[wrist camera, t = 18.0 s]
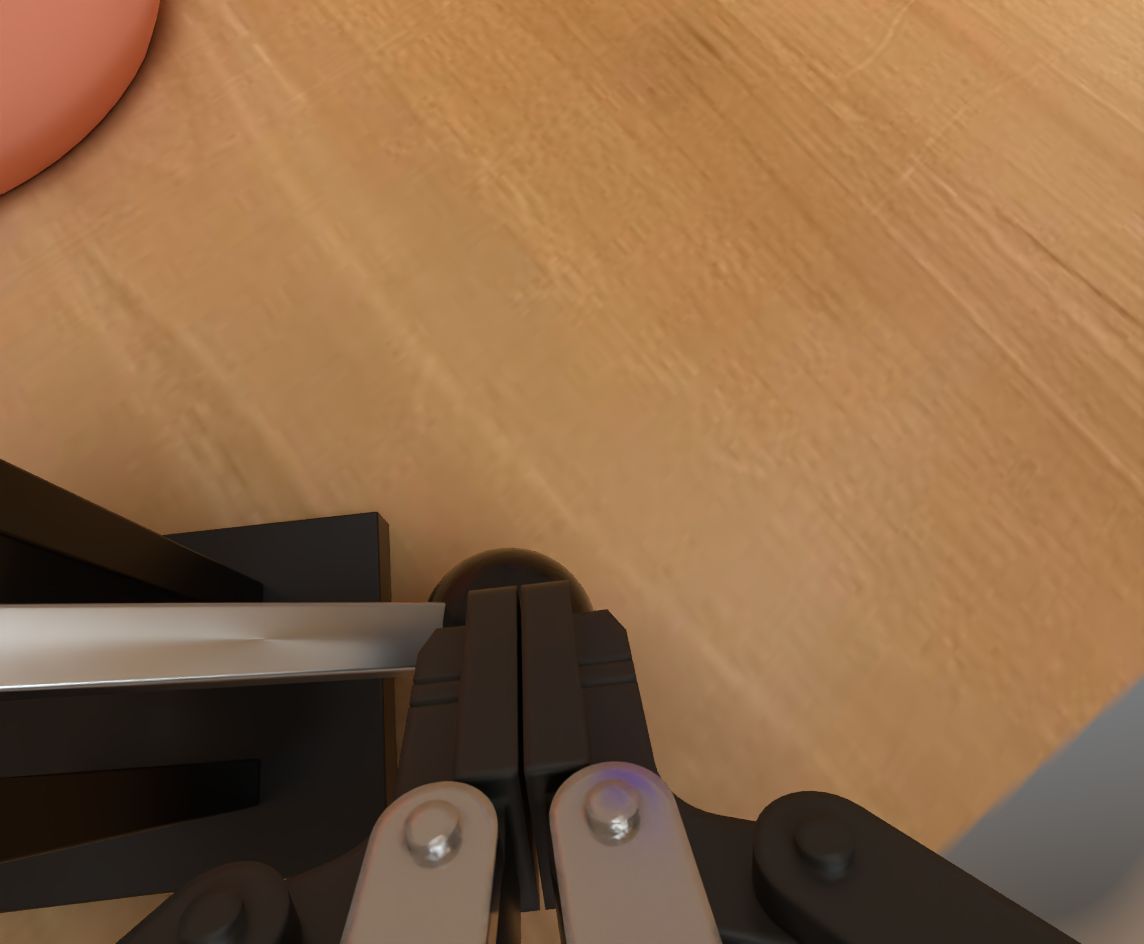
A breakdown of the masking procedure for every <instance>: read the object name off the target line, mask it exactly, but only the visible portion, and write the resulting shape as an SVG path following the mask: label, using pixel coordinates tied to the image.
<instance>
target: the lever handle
mask: <svg viewBox="0 0 1144 944" xmlns="http://www.w3.org/2000/svg"><path fill="white" fill-rule="evenodd" d="M563 580H569V589H570V597H571V606H572V613H581V612H590V611H594V610H593V607H592V604H591V602H590V599H589V597H588V595H587V594H586V592H585V590H584V589H583V587H582V586H581V584H580V583H579V582H578V580H577V579H576V578H575V577H574V576H573V574H571V573H570V572H569V571H568V570H567V569H566V568H565V567H564V566H562V565H561V564H560V563H558V562H557V561H555V560H553V559H551V558H550V557H547V556H545V555H543V554H540V553H538V552H535V551H531V550H526V549H519V548H500V549H494V550H488V551H485V552H482V553H479V554H476V555H474V556H472V557H470V558H468V559H466V560H464V561H463V562H461V563H460V564H458V565H457V566H456V567H454V568H453V569H452V570H450V571H449V572H448V573H447V574H446V575H445V576H444V577H443V578H442V580H441V581H440V582H439V584H438V585H437V586H436V588H435V589H434V590H433V592H432V594H431V595H430V597H429V599H428V601H427V602H333V603H12V604H0V701H2V700H19V699H36V698H53V697H70V696H87V695H104V694H121V693H138V692H155V691H172V690H189V689H206V688H223V687H240V686H256V685H273V684H290V683H307V682H324V681H341V680H358V679H375V678H392V677H409V676H414V673H415V667H416V662H417V656H418V653H419V651H420V650H421V648H422V647H423V646H424V644H425V643H426V642H427V640H428V639H429V638H430V636H431V635H432V634H433V632H434V631H435V629H437V628H446V627H455V626H464V625H465V623H466V612H467V601H468V593H469V591H472V590H481V589H490V588H499V587H508V586H518V590H519V596H520V603H521V585H528V584H536V583H545V582H554V581H563Z"/></svg>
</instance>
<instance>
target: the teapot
mask: <svg viewBox="0 0 1144 944" xmlns="http://www.w3.org/2000/svg"><path fill="white" fill-rule="evenodd" d="M159 3H160V0H0V195H2V194H4V193H6V192H7V191H9V190H11V189H13V188H14V187H16V186H18V185H20V184H22V183H23V182H25V181H27V180H29V179H30V178H32V177H33V176H35V175H36V174H38V173H39V172H41V171H42V170H44V169H45V168H47V167H48V166H50V165H51V164H53V163H54V162H55V161H57V160H58V159H59V158H61V157H62V156H63V155H64V154H66V153H67V152H68V151H69V150H70V149H72V148H73V147H74V146H75V145H76V144H78V143H79V142H80V141H81V140H82V139H83V138H84V137H85V136H86V135H87V134H88V133H89V132H90V131H91V130H92V129H93V128H94V127H95V126H96V125H97V124H98V123H99V122H100V121H101V120H102V119H103V118H104V117H105V116H106V114H107V113H108V112H109V111H110V110H111V108H112V107H113V106H114V105H115V104H116V102H117V101H118V100H119V99H120V97H121V96H122V94H123V93H124V92H125V90H126V89H127V87H128V86H129V84H130V83H131V81H132V80H133V79H134V77H135V75H136V73H137V71H138V69H139V67H140V66H141V64H142V62H143V60H144V58H145V56H146V52H147V49H148V46H149V43H150V40H151V37H152V33H153V29H154V26H155V23H156V19H157V15H158V9H159Z"/></svg>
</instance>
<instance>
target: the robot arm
mask: <svg viewBox="0 0 1144 944" xmlns="http://www.w3.org/2000/svg"><path fill="white" fill-rule="evenodd" d="M413 681H414V685H412V691H411V697H410V702H409V703H410V708H408V714H407V720H406V726H405V731H404V737H403V743H402V749H401V755H400V760H399V766H398V772H397V778H396V784H395V789H394V795H393V798H392V802H391V805H390V806H389V807H387V808H386V809H385V811H384V812H383V813H382V815H381V816H380V817H379V818H378V820H377V822H376V824H375V825H374V827H373V830H372V833H371V834H370V835H369V836H368V837H367V838H366V839H365V840H364V841H363V842H362V843H360V844H359V845H358V846H356V847H355V848H354V849H352V850H351V851H349V852H347V853H346V854H344V855H343V856H341V857H339V858H337V859H334V860H332V861H330V862H328V863H325V864H323V865H321V866H318V867H316V868H313V869H311V870H309V871H306V872H304V873H301V874H299V875H296V876H294V877H292V878H289V879H287V880H284V879H283V877H282V876H281V874H280V873H278V872H277V871H276V870H275V869H274V868H272V867H271V866H269V865H267V864H264V863H260V862H255V861H238V862H232V863H228V864H224V865H221V866H218V867H215V868H212V869H210V870H208V871H206V872H204V873H202V874H200V875H198V876H197V877H195V878H194V879H192V880H190V881H189V882H187V883H186V884H185V885H183V886H182V887H181V888H180V889H178V890H177V891H176V892H175V893H174V894H172V895H171V896H170V897H169V898H168V899H167V900H165V901H164V902H163V903H162V904H161V905H160V906H159V907H157V908H156V909H155V910H154V911H153V912H152V913H150V914H149V915H148V916H147V917H146V918H145V919H143V920H142V921H141V922H140V923H139V924H138V925H137V926H135V927H134V928H133V929H132V930H131V931H130V932H128V933H127V934H126V935H125V936H124V937H123V938H121V939H120V940H119V941H118V942H117V943H116V944H521V912H529V911H537V910H540V894H539V871H540V877H541V883H542V890H543V896H544V902H545V909H546V910H548V909H556V912H557V919H558V926H559V933H560V940H561V944H1081V943H1079V942H1077V941H1076V940H1074V939H1073V938H1071V937H1069V936H1068V935H1066V934H1065V933H1063V932H1062V931H1060V930H1058V929H1057V928H1055V927H1053V926H1052V925H1050V924H1049V923H1047V922H1045V921H1044V920H1042V919H1041V918H1039V917H1037V916H1036V915H1034V914H1033V913H1031V912H1029V911H1028V910H1026V909H1025V908H1023V907H1021V906H1020V905H1018V904H1016V903H1015V902H1013V901H1012V900H1010V899H1009V898H1007V897H1005V896H1004V895H1002V894H1001V893H999V892H997V891H996V890H994V889H993V888H991V887H989V886H988V885H986V884H984V883H983V882H981V881H980V880H978V879H976V878H975V877H973V876H972V875H970V874H968V873H967V872H965V871H964V870H962V869H960V868H959V867H957V866H956V865H954V864H952V863H951V862H949V861H947V860H946V859H944V858H943V857H941V856H940V855H938V854H936V853H935V852H933V851H932V850H930V849H928V848H927V847H925V846H924V845H922V844H920V843H919V842H917V841H915V840H914V839H912V838H911V837H909V836H907V835H906V834H904V833H903V832H901V831H899V830H898V829H896V828H895V827H893V826H891V825H890V824H888V823H887V822H885V821H883V820H882V819H880V818H879V817H877V816H875V815H874V814H872V813H871V812H869V811H867V810H866V809H864V808H863V807H861V806H859V805H857V804H856V803H854V802H852V801H850V800H848V799H845V798H843V797H840V796H838V795H834V794H830V793H826V792H817V791H801V792H795V793H790V794H787V795H784V796H782V797H780V798H778V799H776V800H774V801H773V802H771V803H770V804H769V805H768V806H767V807H765V809H764V810H763V811H762V812H761V814H760V815H759V817H758V819H757V821H750V820H744V819H739V818H733V817H727V816H721V815H717V814H712V813H708V812H705V811H703V810H700V809H697V808H695V807H693V806H691V805H689V804H687V803H686V802H684V801H683V800H681V799H680V798H679V797H677V796H676V795H675V794H674V793H673V792H672V791H671V790H670V789H669V787H668V786H667V784H666V783H665V782H664V781H663V780H662V779H661V777H660V775H659V773H658V771H657V768H656V765H655V762H654V757H653V752H652V748H651V743H650V738H649V734H648V729H647V725H646V720H645V715H644V711H643V706H642V701H641V697H640V692H639V687H638V683H637V680H636V674H635V669H634V664H633V660H632V655H631V650H630V646H629V641H628V637H627V632H626V629H625V628H624V627H623V626H622V625H621V624H620V623H619V622H618V621H617V619H616V618H615V617H614V616H613V615H612V614H611V613H610V612H609V611H608V610H598V611H590V612H581V613H572V606H571V597H570V589H569V580H563V581H554V582H545V583H536V584H528V585H521V603H520V596H519V590H518V586H508V587H499V588H490V589H481V590H472V591H469V593H468V601H467V612H466V623H465V625H464V626H455V627H446V628H437V629H435V631H434V632H433V634H432V635H431V636H430V638H429V639H428V640H427V642H426V643H425V644H424V646H423V647H422V648H421V650H420V651H419V653H418V656H417V662H416V667H415V673H414V679H413ZM538 864H539V865H538Z"/></svg>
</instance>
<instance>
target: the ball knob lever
mask: <svg viewBox="0 0 1144 944" xmlns="http://www.w3.org/2000/svg"><path fill="white" fill-rule="evenodd" d="M333 602H391V576H390V547H389V524H388V523H387V522H386V521H385V520H384V519H383V517H382V516H381V515H380V514H379V513H378V512H369V513H360V514H351V515H342V516H333V517H323V518H314V519H305V520H296V521H287V522H278V523H269V524H259V525H250V526H241V527H232V528H223V529H214V530H205V531H196V532H186V533H177V534H168V535H160V534H157V533H155V532H153V531H151V530H149V529H147V528H145V527H143V526H141V525H139V524H136V523H134V522H132V521H130V520H128V519H126V518H124V517H122V516H120V515H117V514H115V513H113V512H111V511H109V510H107V509H105V508H103V507H101V506H99V505H96V504H94V503H92V502H90V501H88V500H86V499H84V498H82V497H80V496H77V495H75V494H73V493H71V492H69V491H67V490H65V489H63V488H61V487H59V486H56V485H54V484H52V483H50V482H48V481H46V480H44V479H42V478H40V477H38V476H35V475H33V474H31V473H29V472H27V471H25V470H23V469H21V468H19V467H16V466H14V465H12V464H10V463H8V462H6V461H4V460H2V459H0V604H12V603H333ZM396 778H397V753H396V724H395V694H394V677H392V678H375V679H358V680H341V681H324V682H307V683H290V684H273V685H256V686H240V687H223V688H206V689H189V690H172V691H155V692H138V693H121V694H104V695H87V696H70V697H53V698H36V699H19V700H2V701H0V913H5V912H13V911H21V910H29V909H38V908H46V907H54V906H62V905H70V904H79V903H87V902H95V901H103V900H112V899H120V898H128V897H136V896H144V895H153V894H161V893H169V892H176V891H177V890H178V889H180V888H181V887H182V886H183V885H185V884H186V883H187V882H189V881H190V880H192V879H194V878H195V877H197V876H198V875H200V874H202V873H204V872H206V871H208V870H210V869H212V868H215V867H218V866H221V865H224V864H228V863H232V862H238V861H255V862H260V863H264V864H267V865H269V866H271V867H272V868H274V869H275V870H276V871H277V872H278V873H280V874H281V876H282V877H283V879H284V878H292V877H294V876H296V875H299V874H301V873H304V872H306V871H309V870H311V869H313V868H316V867H318V866H321V865H323V864H325V863H328V862H330V861H332V860H334V859H337V858H339V857H341V856H343V855H344V854H346V853H347V852H349V851H351V850H352V849H354V848H355V847H356V846H358V845H359V844H360V843H362V842H363V841H364V840H365V839H366V838H367V837H368V836H369V835H370V834H371V833H372V830H373V827H374V825H375V824H376V822H377V820H378V818H379V817H380V816H381V815H382V813H383V812H384V811H385V809H386V808H387V807H389V806H390V805H391V802H392V798H393V795H394V789H395V784H396Z"/></svg>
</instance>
